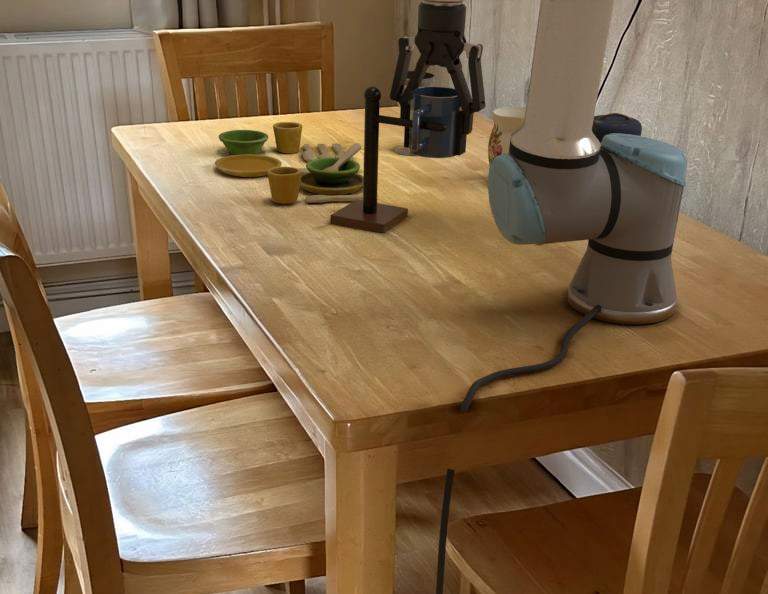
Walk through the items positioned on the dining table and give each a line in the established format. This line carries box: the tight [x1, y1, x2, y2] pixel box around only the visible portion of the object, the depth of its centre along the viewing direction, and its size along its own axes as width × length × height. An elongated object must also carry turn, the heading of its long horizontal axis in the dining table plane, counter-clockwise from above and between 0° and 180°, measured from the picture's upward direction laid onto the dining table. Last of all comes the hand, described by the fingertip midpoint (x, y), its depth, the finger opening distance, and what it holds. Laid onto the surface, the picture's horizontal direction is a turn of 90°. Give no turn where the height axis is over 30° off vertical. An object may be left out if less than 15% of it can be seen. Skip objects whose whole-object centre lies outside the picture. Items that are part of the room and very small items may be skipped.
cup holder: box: [330, 85, 446, 234], centre depth 174 cm, size 10×18×22 cm, turn 65°
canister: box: [592, 112, 643, 143], centre depth 181 cm, size 10×10×18 cm
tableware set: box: [214, 121, 364, 204], centre depth 202 cm, size 41×28×6 cm
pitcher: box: [487, 106, 527, 166], centre depth 199 cm, size 11×18×14 cm, turn 17°
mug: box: [409, 85, 463, 159], centre depth 172 cm, size 13×9×10 cm, turn 155°
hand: (434, 149), depth 177 cm, fingers closed on mug, 9 cm apart
